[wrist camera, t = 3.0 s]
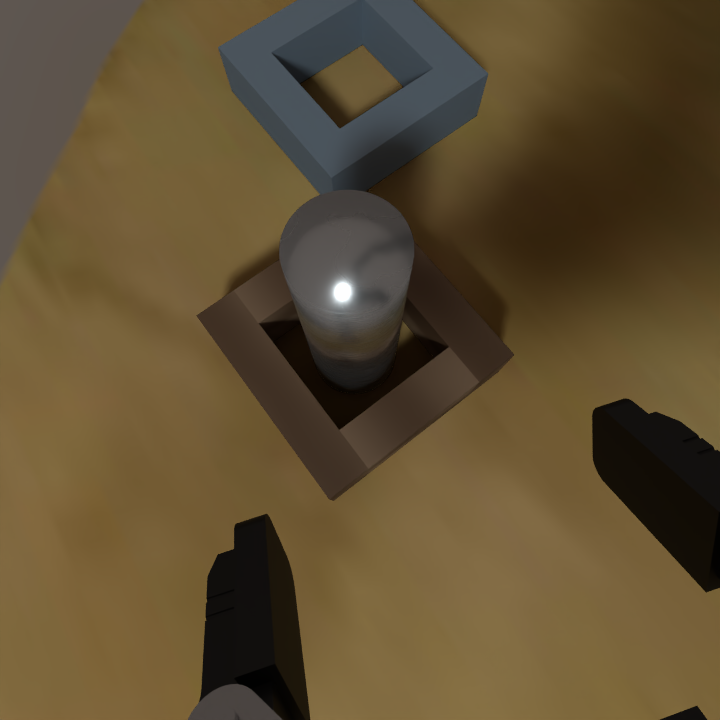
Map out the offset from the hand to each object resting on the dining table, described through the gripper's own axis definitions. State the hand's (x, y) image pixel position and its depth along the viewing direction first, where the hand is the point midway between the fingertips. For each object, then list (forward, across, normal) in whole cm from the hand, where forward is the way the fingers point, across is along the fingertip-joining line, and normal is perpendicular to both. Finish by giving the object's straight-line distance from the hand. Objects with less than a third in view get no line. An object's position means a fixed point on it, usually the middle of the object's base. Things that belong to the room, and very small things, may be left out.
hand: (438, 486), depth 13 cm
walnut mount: (+14, 0, +4) cm, 14 cm away
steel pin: (+14, 0, +4) cm, 14 cm away
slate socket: (+24, -4, -7) cm, 25 cm away
